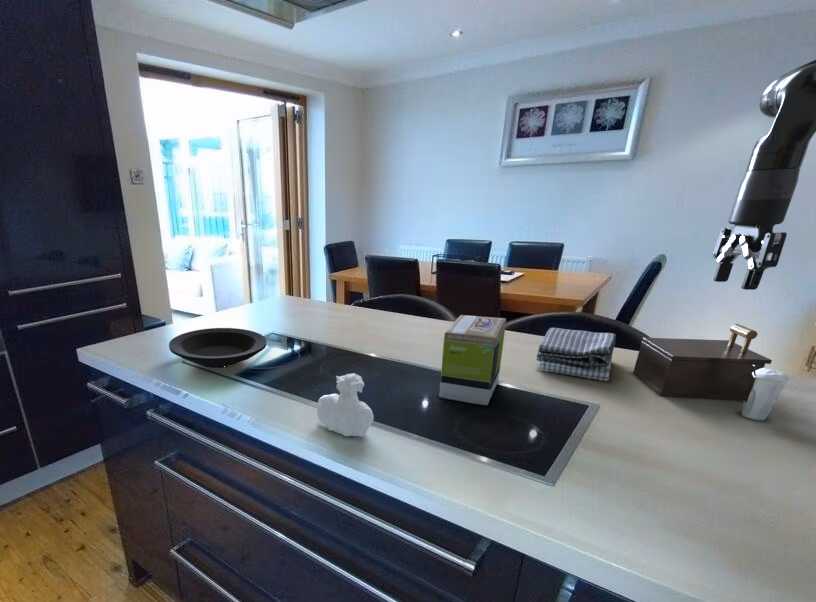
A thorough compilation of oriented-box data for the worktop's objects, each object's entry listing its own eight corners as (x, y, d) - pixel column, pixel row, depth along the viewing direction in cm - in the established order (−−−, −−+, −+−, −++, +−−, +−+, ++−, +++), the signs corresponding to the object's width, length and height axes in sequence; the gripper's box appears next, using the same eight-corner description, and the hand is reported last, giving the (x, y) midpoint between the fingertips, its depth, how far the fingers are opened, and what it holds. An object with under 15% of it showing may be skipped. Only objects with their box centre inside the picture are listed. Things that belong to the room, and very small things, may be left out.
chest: (711, 377, 98) (723, 343, 95) (750, 400, 87) (765, 364, 84) (632, 373, 102) (641, 341, 98) (660, 395, 90) (671, 360, 87)
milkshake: (725, 409, 84) (744, 360, 80) (758, 411, 83) (779, 362, 79) (741, 420, 80) (762, 369, 76) (777, 423, 79) (800, 371, 75)
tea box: (453, 374, 104) (460, 313, 99) (499, 381, 100) (509, 317, 94) (437, 398, 92) (444, 330, 87) (488, 407, 88) (498, 336, 82)
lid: (728, 343, 95) (737, 319, 93) (770, 364, 84) (782, 336, 82) (641, 340, 98) (648, 317, 96) (671, 359, 87) (680, 333, 85)
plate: (154, 360, 120) (151, 340, 117) (228, 340, 134) (226, 322, 132) (208, 389, 100) (205, 366, 98) (287, 362, 115) (286, 342, 113)
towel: (612, 359, 110) (620, 329, 107) (607, 384, 96) (616, 350, 93) (544, 349, 118) (550, 321, 115) (531, 371, 105) (537, 339, 102)
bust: (373, 447, 79) (395, 389, 81) (356, 438, 73) (379, 376, 75) (321, 428, 86) (341, 375, 88) (301, 418, 80) (323, 362, 82)
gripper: (820, 196, 74) (783, 292, 80) (759, 195, 87) (732, 278, 93) (767, 198, 75) (735, 292, 82) (715, 197, 88) (691, 279, 95)
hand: (733, 285), depth 87 cm, fingers open, 8 cm apart
